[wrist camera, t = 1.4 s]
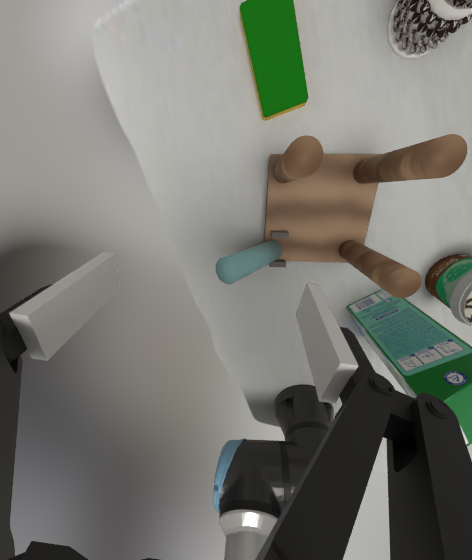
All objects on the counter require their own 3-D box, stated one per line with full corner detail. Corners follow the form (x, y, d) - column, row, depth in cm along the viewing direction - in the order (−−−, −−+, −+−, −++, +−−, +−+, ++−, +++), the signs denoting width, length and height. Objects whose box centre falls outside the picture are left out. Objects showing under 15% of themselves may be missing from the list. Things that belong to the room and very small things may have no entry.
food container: (450, 236, 41) (507, 249, 32) (477, 250, 42) (540, 266, 32) (404, 289, 46) (442, 314, 36) (429, 301, 46) (472, 329, 37)
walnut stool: (352, 261, 44) (418, 309, 26) (263, 258, 46) (268, 302, 28) (375, 156, 37) (485, 124, 19) (269, 157, 39) (280, 127, 21)
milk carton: (403, 318, 48) (540, 434, 25) (363, 335, 51) (453, 456, 27) (387, 286, 46) (523, 382, 23) (346, 306, 48) (429, 411, 25)
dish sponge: (263, 122, 37) (263, 117, 35) (240, 16, 33) (238, 3, 30) (305, 105, 36) (308, 100, 34) (287, -7, 31) (290, -22, 29)
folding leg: (281, 261, 39) (237, 286, 29) (263, 258, 41) (215, 280, 31) (283, 241, 38) (237, 260, 27) (264, 239, 40) (215, 255, 29)
